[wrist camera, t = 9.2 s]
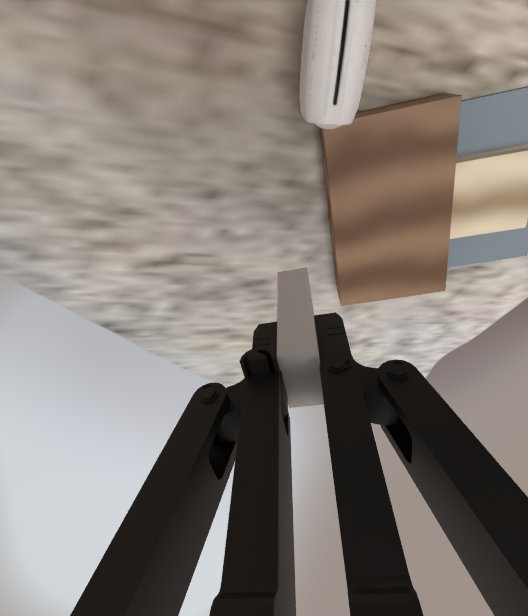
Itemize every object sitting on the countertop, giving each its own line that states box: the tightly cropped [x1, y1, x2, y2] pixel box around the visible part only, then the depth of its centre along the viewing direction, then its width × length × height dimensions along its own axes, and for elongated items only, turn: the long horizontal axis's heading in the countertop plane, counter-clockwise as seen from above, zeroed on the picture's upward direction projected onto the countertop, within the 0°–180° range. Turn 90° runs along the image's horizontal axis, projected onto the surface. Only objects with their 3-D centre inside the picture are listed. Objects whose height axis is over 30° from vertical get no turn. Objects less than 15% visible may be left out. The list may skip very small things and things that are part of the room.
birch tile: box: [450, 144, 528, 239], centre depth 37 cm, size 8×8×2 cm
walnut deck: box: [320, 93, 462, 306], centre depth 39 cm, size 20×12×4 cm, turn 12°
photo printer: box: [299, 0, 376, 129], centre depth 28 cm, size 10×4×12 cm, turn 178°
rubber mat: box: [447, 87, 528, 268], centre depth 39 cm, size 18×10×1 cm, turn 12°
